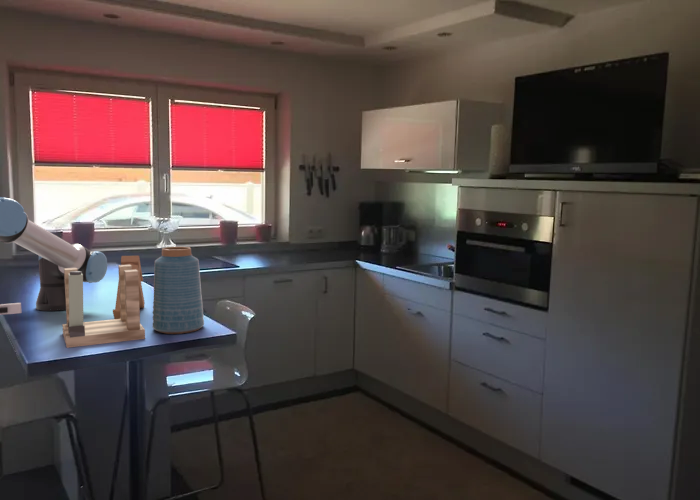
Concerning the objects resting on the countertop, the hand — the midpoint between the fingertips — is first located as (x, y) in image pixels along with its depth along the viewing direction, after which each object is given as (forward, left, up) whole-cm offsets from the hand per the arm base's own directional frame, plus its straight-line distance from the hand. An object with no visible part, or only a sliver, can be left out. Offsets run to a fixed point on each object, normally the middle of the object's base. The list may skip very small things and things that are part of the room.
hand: (21, 307), depth 173 cm
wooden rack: (-6, +22, -12) cm, 26 cm away
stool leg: (0, +14, -7) cm, 16 cm away
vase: (-5, +45, -13) cm, 47 cm away
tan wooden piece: (-31, +34, -13) cm, 48 cm away
